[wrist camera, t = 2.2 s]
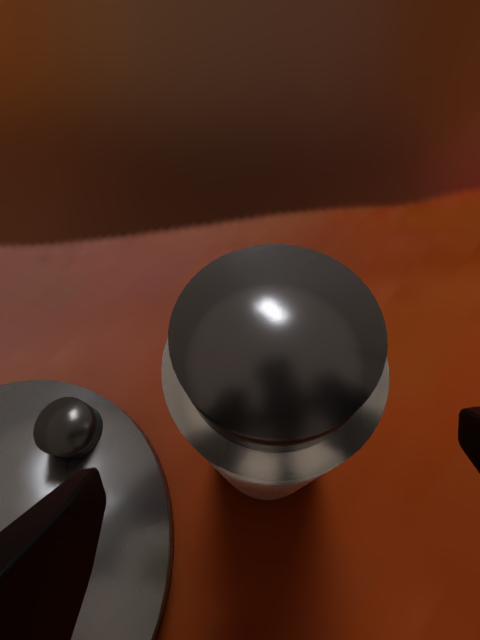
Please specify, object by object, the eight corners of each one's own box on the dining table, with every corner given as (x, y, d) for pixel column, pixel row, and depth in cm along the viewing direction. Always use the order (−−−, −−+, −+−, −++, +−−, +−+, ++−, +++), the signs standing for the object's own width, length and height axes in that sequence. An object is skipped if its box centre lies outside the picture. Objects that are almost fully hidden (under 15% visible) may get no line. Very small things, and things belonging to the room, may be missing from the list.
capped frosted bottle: (290, 522, 16) (362, 544, 5) (197, 466, 17) (84, 381, 6) (331, 422, 18) (446, 276, 7) (245, 380, 19) (224, 200, 8)
